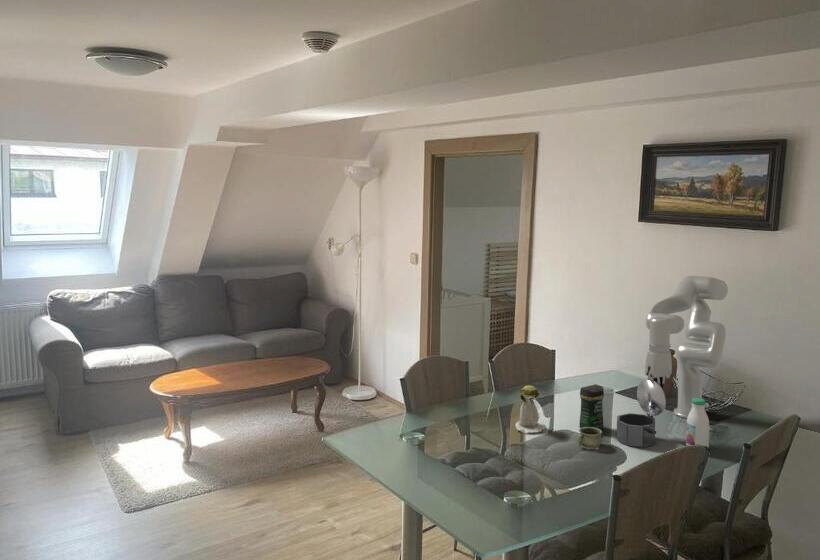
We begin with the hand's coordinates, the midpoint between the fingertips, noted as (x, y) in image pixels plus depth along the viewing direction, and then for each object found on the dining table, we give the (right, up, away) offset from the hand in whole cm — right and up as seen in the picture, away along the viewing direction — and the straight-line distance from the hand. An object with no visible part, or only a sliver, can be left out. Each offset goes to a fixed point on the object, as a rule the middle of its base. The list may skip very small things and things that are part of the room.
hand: (658, 393), depth 248 cm
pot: (-10, -18, -2) cm, 21 cm away
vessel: (-29, -20, -5) cm, 35 cm away
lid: (-4, -2, -1) cm, 4 cm away
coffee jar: (-23, -17, +12) cm, 31 cm away
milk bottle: (+9, -19, -13) cm, 25 cm away
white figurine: (-48, -18, +15) cm, 53 cm away
